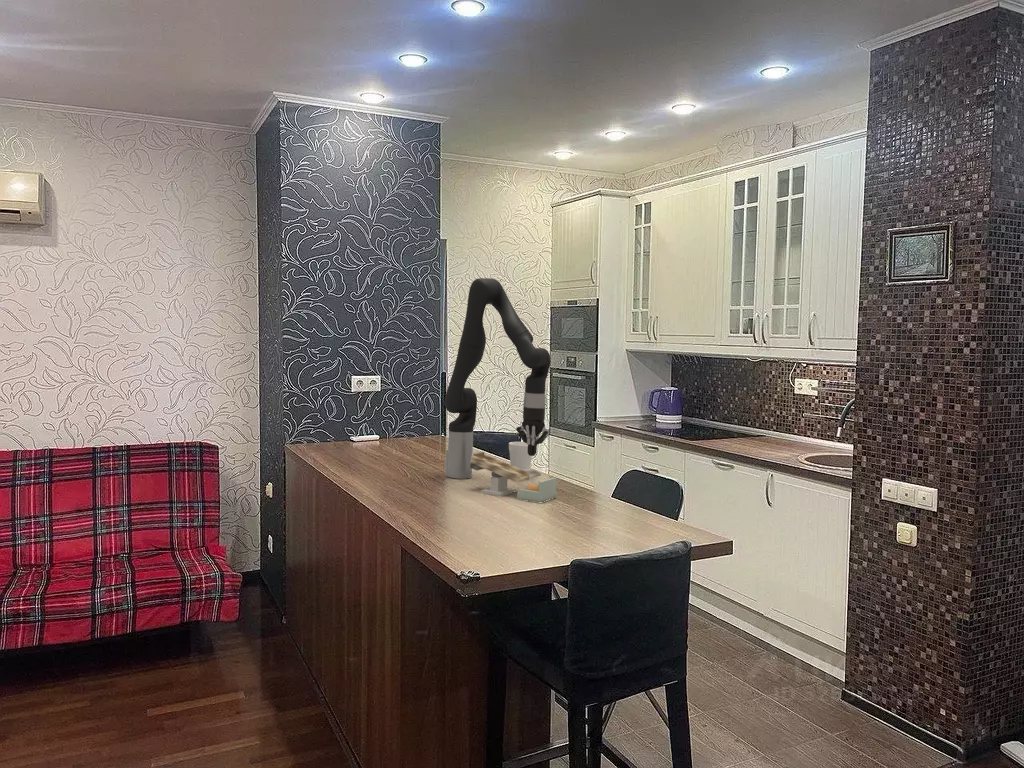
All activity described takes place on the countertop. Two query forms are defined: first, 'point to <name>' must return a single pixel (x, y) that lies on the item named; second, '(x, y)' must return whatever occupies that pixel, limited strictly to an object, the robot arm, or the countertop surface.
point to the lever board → (501, 468)
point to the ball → (533, 487)
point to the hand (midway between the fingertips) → (531, 455)
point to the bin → (540, 491)
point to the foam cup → (519, 455)
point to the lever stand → (498, 486)
